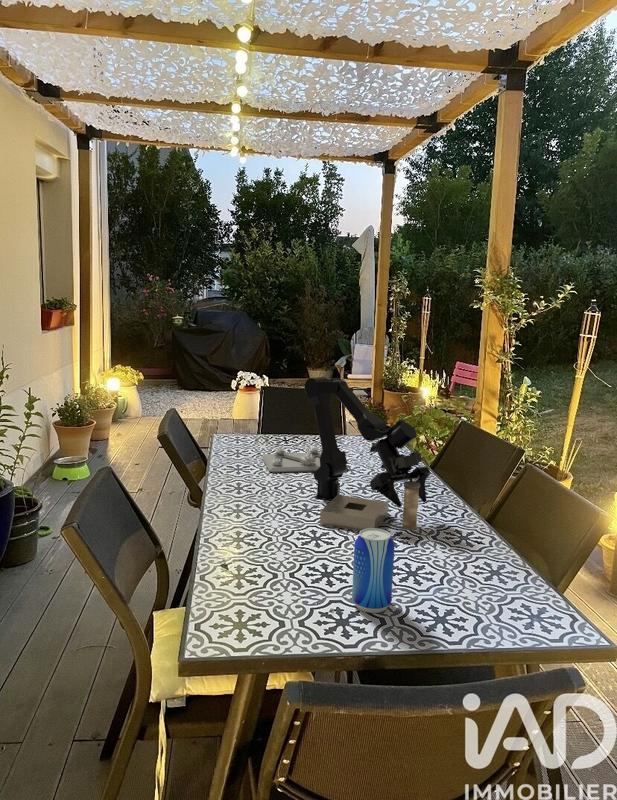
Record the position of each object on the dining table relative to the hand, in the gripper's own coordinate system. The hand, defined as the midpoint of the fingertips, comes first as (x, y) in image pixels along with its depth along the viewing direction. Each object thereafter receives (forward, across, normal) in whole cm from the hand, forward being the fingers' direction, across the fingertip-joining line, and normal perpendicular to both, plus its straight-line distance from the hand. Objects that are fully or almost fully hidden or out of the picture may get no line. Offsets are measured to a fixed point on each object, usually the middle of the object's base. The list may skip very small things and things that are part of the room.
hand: (412, 504), depth 178 cm
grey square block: (-4, -11, +14) cm, 18 cm away
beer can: (+27, -37, -16) cm, 49 cm away
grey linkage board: (-45, +6, +55) cm, 71 cm away
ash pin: (+4, 0, +6) cm, 7 cm away
